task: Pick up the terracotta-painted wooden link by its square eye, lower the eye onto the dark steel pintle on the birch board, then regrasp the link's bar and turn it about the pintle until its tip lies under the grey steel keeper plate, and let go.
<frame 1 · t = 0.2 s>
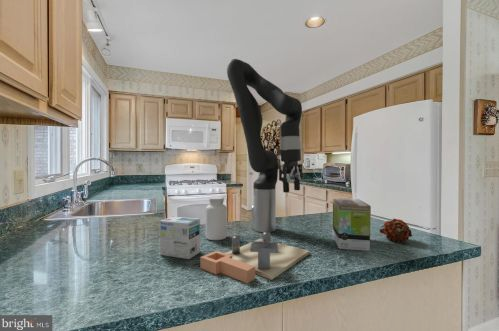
hand: (291, 191, 93), 17 cm above the counter, tool pointing down, fingers open, 8 cm apart
keeper: (264, 268, 65), resting on board
light bulb box: (180, 254, 76), on the counter
pintle: (266, 251, 77), resting on board
board: (264, 256, 73), on the counter
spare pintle: (235, 256, 73), resting on board
tea box: (349, 243, 85), on the counter
link: (251, 281, 58), on the counter
pill bottle: (216, 238, 92), on the counter
pine cone: (395, 241, 88), on the counter
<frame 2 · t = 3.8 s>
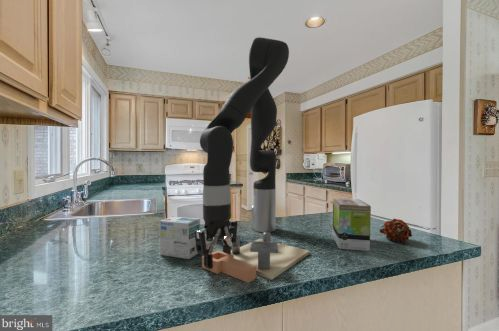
hand: (218, 263, 66), 1 cm above the counter, tool pointing down, fingers closed on link, 6 cm apart
link: (252, 280, 58), on the counter, touching board, gripper
everything else where it was.
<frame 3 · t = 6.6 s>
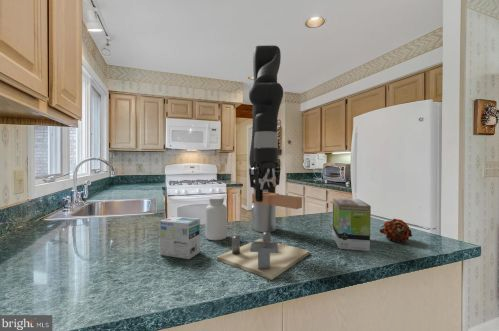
hand: (265, 199, 77), 16 cm above the counter, tool pointing down, fingers closed on link, 6 cm apart
link: (299, 208, 69), point 15 cm above the counter, touching gripper
everything else where it was.
when the fingers open (3 cm above the counter, at t = 9.3 s): link stays where it is, resting on board, pintle.
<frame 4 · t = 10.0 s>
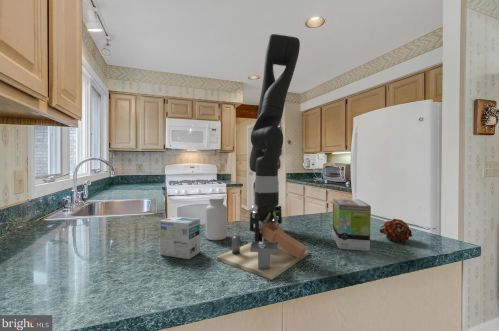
hand: (266, 241, 77), 3 cm above the counter, tool pointing down, fingers open, 8 cm apart
link: (300, 257, 70), point 1 cm above the counter, tilted 22°, touching board, pintle
everything else where it was.
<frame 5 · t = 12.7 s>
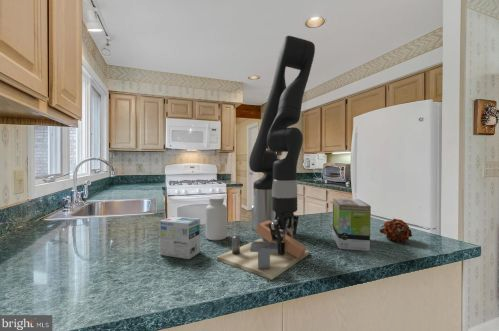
hand: (284, 251, 73), 1 cm above the counter, tool pointing down, fingers open, 3 cm apart
link: (300, 257, 70), point 1 cm above the counter, tilted 22°, touching gripper, pintle
everything else where it was.
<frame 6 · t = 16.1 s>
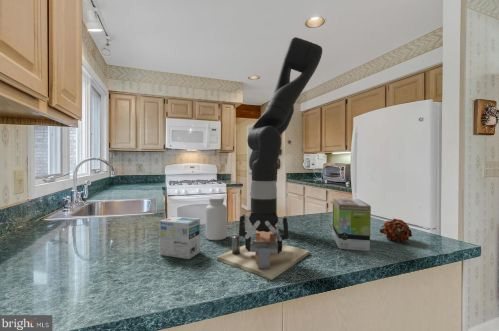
hand: (263, 251, 71), 2 cm above the counter, tool pointing down, fingers open, 8 cm apart
link: (261, 263, 65), point 1 cm above the counter, tilted 21°, touching board, pintle
everything else where it was.
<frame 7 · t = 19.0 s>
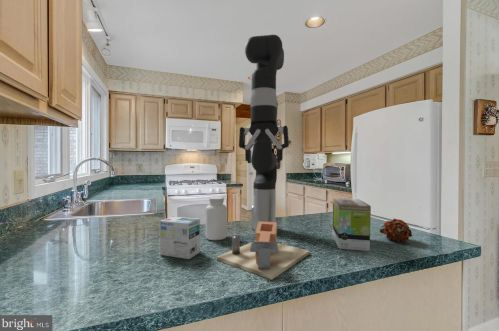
hand: (263, 163, 70), 28 cm above the counter, tool pointing down, fingers open, 8 cm apart
nothing on the counter moved.
at the end: link 0.6 cm from the target spot, point 1.0 cm above the counter; link 11.9 cm from the pintle (horizontally); link point 1.0 cm above the counter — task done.
